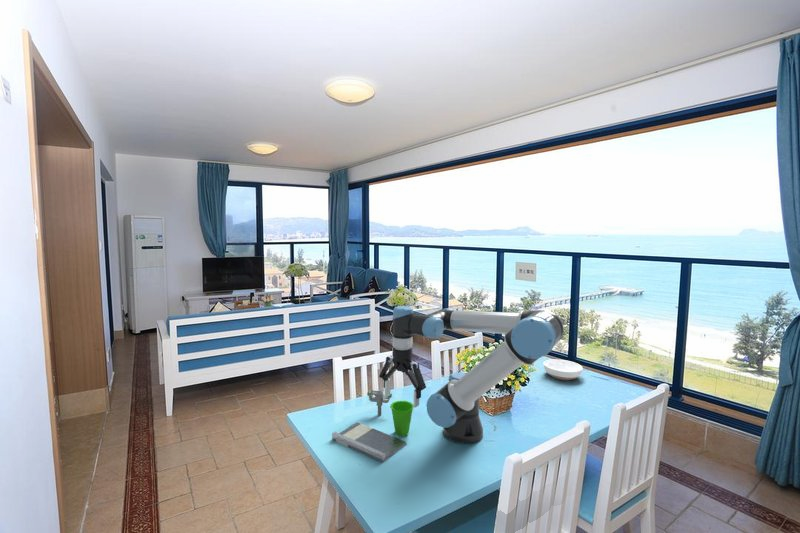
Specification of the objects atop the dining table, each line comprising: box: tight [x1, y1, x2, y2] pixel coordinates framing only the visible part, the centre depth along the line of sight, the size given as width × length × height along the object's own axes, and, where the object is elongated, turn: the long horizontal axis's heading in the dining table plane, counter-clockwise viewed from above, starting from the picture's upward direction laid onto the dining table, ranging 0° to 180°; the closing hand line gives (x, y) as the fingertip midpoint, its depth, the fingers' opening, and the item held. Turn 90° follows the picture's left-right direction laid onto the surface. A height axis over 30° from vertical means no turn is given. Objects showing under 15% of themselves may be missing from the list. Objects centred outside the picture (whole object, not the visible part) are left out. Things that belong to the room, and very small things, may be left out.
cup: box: [390, 400, 415, 437], centre depth 150 cm, size 9×9×11 cm
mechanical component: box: [366, 389, 393, 417], centre depth 164 cm, size 3×10×10 cm, turn 78°
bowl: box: [543, 358, 584, 381], centre depth 209 cm, size 20×20×6 cm
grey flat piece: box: [331, 421, 407, 464], centre depth 144 cm, size 24×14×2 cm, turn 54°
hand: (401, 401), depth 149 cm, fingers open, 13 cm apart
